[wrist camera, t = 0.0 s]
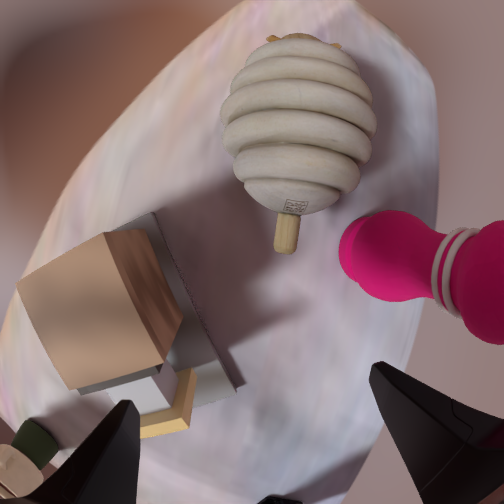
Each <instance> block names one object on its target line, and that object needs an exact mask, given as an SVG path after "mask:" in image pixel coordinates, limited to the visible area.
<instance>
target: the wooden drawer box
mask: <svg viewBox="0 0 504 504" xmlns="http://www.w3.org/2000/svg"><path fill="white" fill-rule="evenodd" d="M15 284H16V287H17V290H18V292H19V295H20V297H21V300H22V302H23V304H24V307H25V309H26V311H27V314H28V316H29V318H30V320H31V322H32V325H33V327H34V329H35V331H36V333H37V335H38V337H39V339H40V341H41V343H42V345H43V347H44V349H45V350H46V352H47V354H48V356H49V358H50V359H51V361H52V363H53V365H54V366H55V368H56V370H57V372H58V373H59V375H60V376H61V378H62V380H63V381H64V383H65V385H66V386H67V388H68V389H69V390H73V389H77V390H78V391H79V393H80V394H81V395H84V394H88V393H92V392H96V391H100V390H104V389H108V388H112V387H115V386H119V385H122V384H126V383H129V382H133V381H136V380H140V379H143V378H146V377H150V376H153V375H156V374H159V373H160V371H161V368H162V366H163V363H164V362H165V360H166V358H167V360H168V362H169V363H170V365H171V367H172V368H173V370H174V372H175V373H176V372H180V371H183V370H186V369H188V368H191V367H192V368H193V370H194V372H195V374H196V375H197V381H196V387H195V393H194V400H193V406H192V408H195V407H198V406H202V405H205V404H208V403H211V402H215V401H218V400H221V399H224V398H227V397H230V396H233V395H236V394H237V390H236V387H235V385H234V383H233V382H232V380H231V378H230V376H229V374H228V372H227V370H226V369H225V367H224V365H223V363H222V361H221V359H220V357H219V355H218V353H217V352H216V350H215V348H214V346H213V344H212V342H211V340H210V338H209V336H208V334H207V332H206V330H205V328H204V326H203V324H202V322H201V320H200V318H199V315H198V313H197V311H196V309H195V307H194V305H193V303H192V301H191V299H190V296H189V294H188V292H187V290H186V288H185V286H184V283H183V281H182V279H181V277H180V274H179V272H178V270H177V268H176V265H175V263H174V261H173V259H172V256H171V254H170V252H169V249H168V247H167V244H166V242H165V240H164V237H163V235H162V232H161V230H160V227H159V225H158V222H157V220H156V217H155V215H154V213H152V212H150V213H148V214H146V215H144V216H142V217H140V218H138V219H136V220H134V221H132V222H129V223H127V224H125V225H123V226H121V227H119V228H117V229H115V230H113V231H111V232H103V233H101V234H99V235H97V236H95V237H93V238H92V239H90V240H88V241H86V242H84V243H82V244H80V245H79V246H77V247H75V248H73V249H71V250H70V251H68V252H66V253H64V254H63V255H61V256H59V257H57V258H56V259H54V260H52V261H51V262H49V263H47V264H46V265H44V266H42V267H41V268H39V269H37V270H36V271H34V272H32V273H31V274H29V275H28V276H26V277H24V278H23V279H21V280H20V281H18V282H17V283H15Z"/></svg>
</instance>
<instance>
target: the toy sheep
mask: <svg viewBox="0 0 504 504" xmlns="http://www.w3.org/2000/svg"><path fill="white" fill-rule="evenodd" d="M266 40H267V41H269V42H270V43H267V44H265V45H263V46H261V47H259V48H257V49H256V50H255V51H254V52H253V53H251V55H250V56H249V57H248V59H247V61H246V64H245V67H244V68H243V69H242V70H241V71H240V72H239V73H238V74H237V75H236V76H235V78H234V79H233V81H232V83H231V88H230V93H231V95H230V96H229V97H228V98H227V99H226V100H225V101H224V103H223V105H222V107H221V110H220V116H221V120H222V123H223V125H224V126H225V130H224V132H223V135H222V144H223V147H224V148H225V150H226V151H227V152H228V153H229V154H230V155H232V156H234V157H235V160H234V163H233V171H234V174H235V176H236V177H237V178H238V179H239V180H240V181H241V182H243V183H244V188H245V190H246V191H247V192H248V193H249V194H250V195H251V196H252V197H253V198H254V199H255V200H256V201H257V202H259V203H260V204H261V205H263V206H265V207H266V208H268V209H270V210H273V211H275V212H277V213H278V217H277V223H276V230H275V237H274V244H273V245H274V249H275V251H276V252H278V253H283V254H292V253H294V252H295V250H296V248H297V241H298V235H299V228H300V221H301V218H300V216H301V215H306V214H311V213H315V212H318V211H320V210H323V209H325V208H327V207H329V206H330V205H332V204H333V203H335V202H336V201H337V200H338V199H339V198H340V194H345V193H350V192H352V191H353V190H354V189H355V188H356V187H357V186H358V184H359V182H360V171H359V167H361V166H363V165H365V164H366V163H367V162H368V161H369V159H370V157H371V154H372V146H371V142H370V140H371V139H372V138H373V137H374V135H375V133H376V130H377V120H376V116H375V114H374V112H373V111H372V109H371V108H372V103H373V98H372V94H371V91H370V89H369V87H368V86H367V84H366V83H365V82H364V81H363V80H362V79H361V75H360V71H359V68H358V66H357V64H356V63H355V61H354V60H353V59H352V58H351V57H350V56H349V55H348V54H346V53H345V52H344V51H342V50H340V48H341V47H342V46H341V45H339V44H338V43H334V44H328V43H325V42H322V41H321V40H319V39H317V38H316V37H313V36H311V35H308V34H303V33H294V34H289V35H286V36H284V37H283V38H281V39H280V38H278V37H276V36H274V35H271V36H269V37H267V38H266Z"/></svg>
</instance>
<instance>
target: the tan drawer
mask: <svg viewBox="0 0 504 504" xmlns="http://www.w3.org/2000/svg"><path fill="white" fill-rule="evenodd" d="M196 381H197V375H196V374H195V372H194V370H193V368H192V367H191V368H188V369H186V370H183V371H180V372H176V373H175V372H174V370H173V368H172V367H171V365H170V363H169V362H168V360H167V358H166V360H165V362H164V363H163V366H162V368H161V371H160V373H159V374H156V375H153V376H150V377H146V378H143V379H140V380H136V381H133V382H129V383H126V384H122V385H119V386H115V387H112V388H108V389H105V390H106V391H107V393H108V394H109V396H110V397H111V399H112V400H113V402H114V403H115V405H116V404H117V403H118V402H119V401H120V400H122V399H130V400H132V401H133V403H134V405H135V406H136V408H137V410H138V411H139V414H140V439H142V438H148V437H153V436H158V435H163V434H167V433H172V432H176V431H180V430H184V429H188V428H189V426H190V419H191V413H192V406H193V400H194V393H195V387H196Z"/></svg>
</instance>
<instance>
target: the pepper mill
mask: <svg viewBox="0 0 504 504" xmlns="http://www.w3.org/2000/svg"><path fill="white" fill-rule="evenodd" d="M339 260H340V264H341V266H342V268H343V270H344V272H345V273H346V274H347V275H348V277H349V278H351V279H352V280H354V281H355V282H358V283H359V285H360V286H361V287H362V289H363V290H364V291H365V292H367V293H368V294H369V295H371V296H373V297H375V298H378V299H381V300H384V301H389V302H402V301H407V300H410V299H414V298H419V297H428V298H432V299H435V301H436V304H437V305H438V307H439V308H440V309H441V310H442V311H444V312H445V313H448V314H451V315H453V316H454V317H456V318H459V319H463V321H464V323H465V326H466V327H467V328H468V330H469V331H470V332H471V333H472V334H473V335H475V336H476V337H478V338H479V339H481V340H482V341H485V342H487V343H491V344H497V345H502V344H504V220H502V221H495V222H493V223H491V224H489V225H487V226H485V227H483V228H482V229H481V230H480V229H477V228H471V229H468V228H457V229H455V230H453V231H452V232H450V233H449V234H448V235H447V234H442V233H438V232H436V231H434V230H432V229H430V228H429V227H428V226H427V225H426V224H425V223H424V222H423V221H421V220H420V219H419V218H417V217H415V216H413V215H411V214H409V213H406V212H403V211H394V210H387V211H382V212H379V213H377V214H374V215H373V216H371V217H363V218H359V219H357V220H355V221H354V222H352V223H351V224H350V225H349V226H348V227H347V228H346V230H345V231H344V233H343V235H342V237H341V240H340V244H339Z"/></svg>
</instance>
